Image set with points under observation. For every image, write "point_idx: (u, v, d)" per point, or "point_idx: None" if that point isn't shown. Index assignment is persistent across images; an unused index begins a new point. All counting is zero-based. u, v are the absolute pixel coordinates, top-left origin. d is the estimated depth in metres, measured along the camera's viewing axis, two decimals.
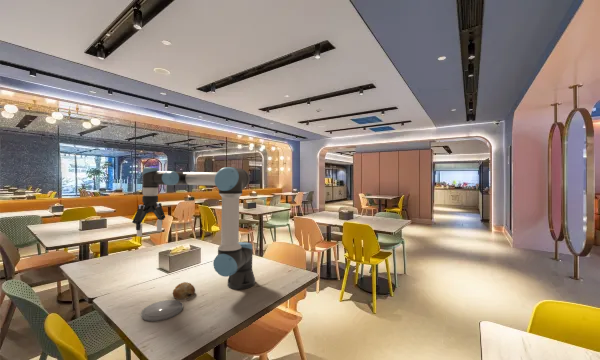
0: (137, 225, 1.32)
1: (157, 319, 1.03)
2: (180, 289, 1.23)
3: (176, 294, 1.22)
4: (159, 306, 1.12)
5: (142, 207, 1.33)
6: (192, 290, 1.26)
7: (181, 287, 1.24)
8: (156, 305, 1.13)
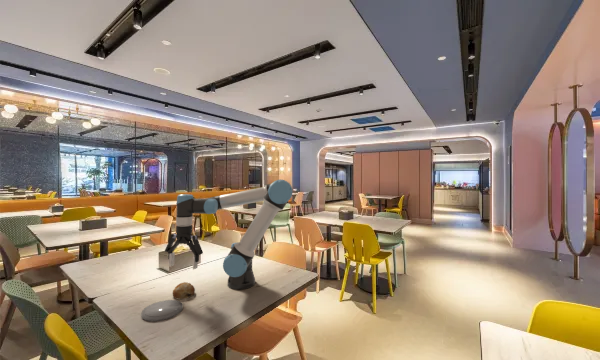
0: None
1: (157, 319, 1.03)
2: (180, 289, 1.23)
3: (176, 294, 1.22)
4: (159, 306, 1.12)
5: (171, 236, 1.27)
6: (192, 290, 1.26)
7: (181, 287, 1.24)
8: (156, 305, 1.13)
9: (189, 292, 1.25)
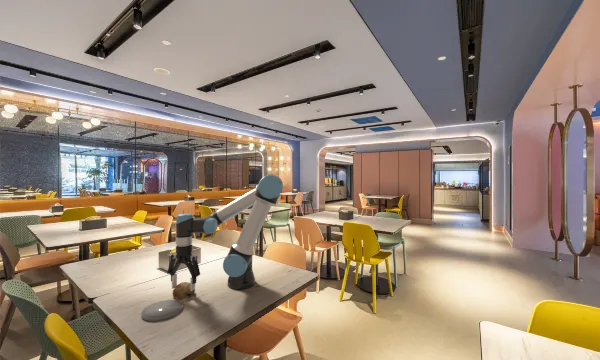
0: None
1: (157, 319, 1.03)
2: (180, 289, 1.23)
3: (176, 294, 1.22)
4: (159, 306, 1.12)
5: (171, 257, 1.27)
6: None
7: (181, 287, 1.24)
8: (156, 305, 1.13)
9: (189, 292, 1.25)
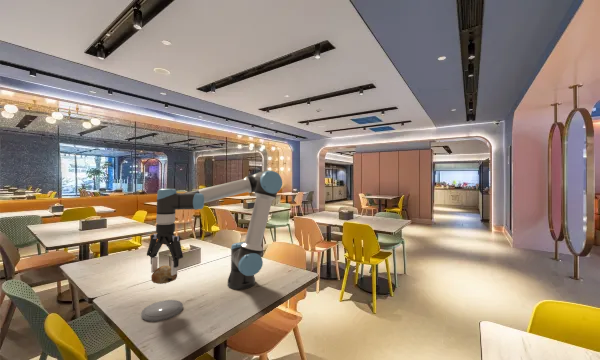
0: None
1: (157, 319, 1.03)
2: (159, 272, 1.09)
3: (154, 278, 1.08)
4: (159, 306, 1.12)
5: (151, 237, 1.13)
6: None
7: (160, 270, 1.10)
8: (156, 305, 1.13)
9: (170, 276, 1.10)
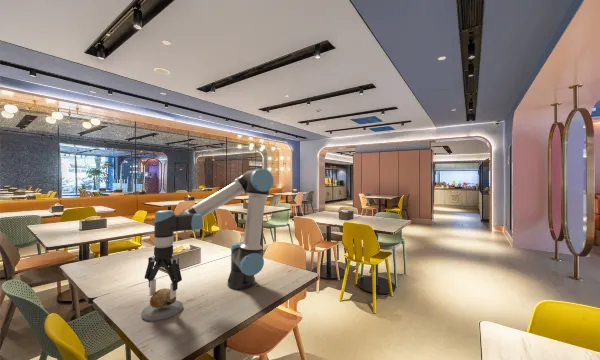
0: None
1: (157, 319, 1.03)
2: (158, 296, 1.07)
3: (153, 302, 1.06)
4: None
5: (149, 260, 1.11)
6: None
7: (159, 294, 1.08)
8: None
9: (169, 300, 1.09)
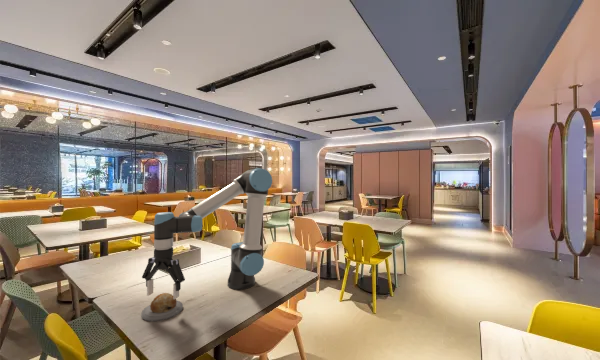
0: None
1: (157, 319, 1.03)
2: (158, 301, 1.07)
3: (153, 307, 1.06)
4: None
5: (149, 261, 1.11)
6: (173, 302, 1.10)
7: (160, 299, 1.08)
8: None
9: (169, 305, 1.09)
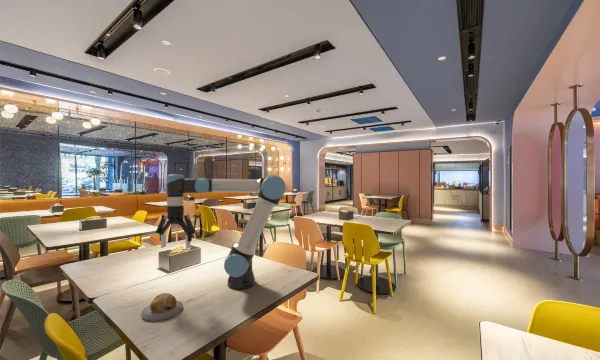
0: None
1: (157, 319, 1.03)
2: (158, 301, 1.07)
3: (153, 307, 1.06)
4: None
5: (162, 217, 1.26)
6: (173, 302, 1.10)
7: (160, 299, 1.08)
8: None
9: (169, 305, 1.09)
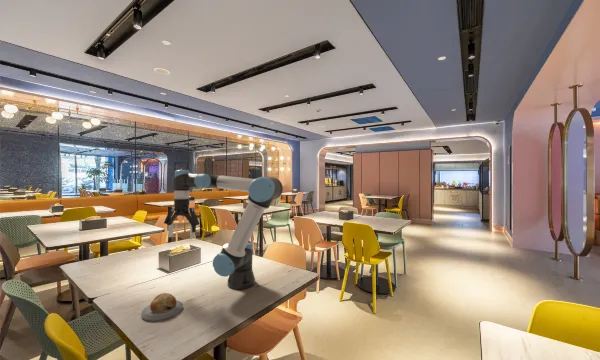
0: None
1: (157, 319, 1.03)
2: (158, 301, 1.07)
3: (153, 307, 1.06)
4: None
5: (170, 209, 1.37)
6: (172, 302, 1.10)
7: (159, 299, 1.08)
8: None
9: (169, 305, 1.09)
